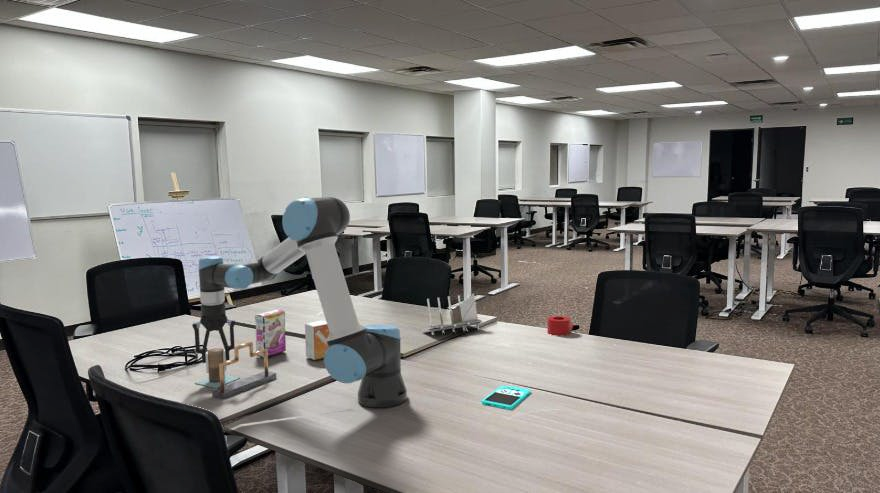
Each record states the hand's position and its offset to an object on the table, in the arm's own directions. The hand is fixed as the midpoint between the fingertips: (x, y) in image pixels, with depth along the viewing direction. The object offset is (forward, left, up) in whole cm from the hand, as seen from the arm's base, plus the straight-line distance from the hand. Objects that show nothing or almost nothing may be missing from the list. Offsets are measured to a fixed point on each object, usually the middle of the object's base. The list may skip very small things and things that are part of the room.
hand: (216, 370), depth 198 cm
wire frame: (-9, -9, -4) cm, 13 cm away
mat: (0, 0, -4) cm, 4 cm away
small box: (+16, -36, -4) cm, 40 cm away
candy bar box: (+26, -19, -4) cm, 32 cm away
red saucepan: (+16, -142, -4) cm, 143 cm away
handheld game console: (-47, -85, -4) cm, 97 cm away
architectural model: (+29, -97, -4) cm, 101 cm away
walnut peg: (0, 0, -3) cm, 3 cm away
